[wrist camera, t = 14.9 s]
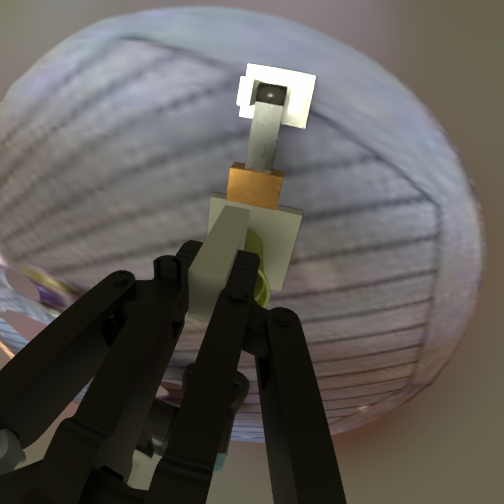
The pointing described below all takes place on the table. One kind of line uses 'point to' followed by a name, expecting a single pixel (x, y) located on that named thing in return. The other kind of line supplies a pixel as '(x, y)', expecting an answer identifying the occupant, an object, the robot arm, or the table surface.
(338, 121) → the table surface
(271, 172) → the press lever
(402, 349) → the table surface
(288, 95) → the lever stand
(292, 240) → the plate
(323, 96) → the table surface
